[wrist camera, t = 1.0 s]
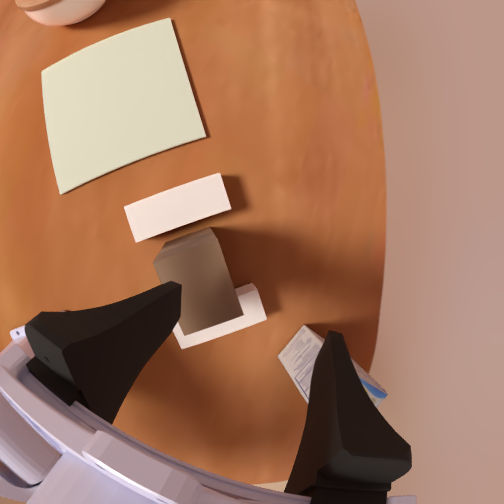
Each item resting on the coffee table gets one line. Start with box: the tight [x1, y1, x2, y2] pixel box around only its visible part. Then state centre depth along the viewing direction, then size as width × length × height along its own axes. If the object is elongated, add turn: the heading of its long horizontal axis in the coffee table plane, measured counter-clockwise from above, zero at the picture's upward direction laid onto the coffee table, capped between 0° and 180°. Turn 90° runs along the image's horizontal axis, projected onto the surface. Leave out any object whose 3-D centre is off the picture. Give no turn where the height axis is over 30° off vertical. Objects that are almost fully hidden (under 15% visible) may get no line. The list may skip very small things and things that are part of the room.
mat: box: [42, 18, 206, 195], centre depth 19 cm, size 14×14×1 cm
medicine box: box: [278, 325, 387, 408], centre depth 24 cm, size 8×4×9 cm, turn 50°
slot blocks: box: [124, 173, 267, 349], centre depth 23 cm, size 8×13×2 cm, turn 17°
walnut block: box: [153, 227, 244, 336], centre depth 20 cm, size 4×5×8 cm
